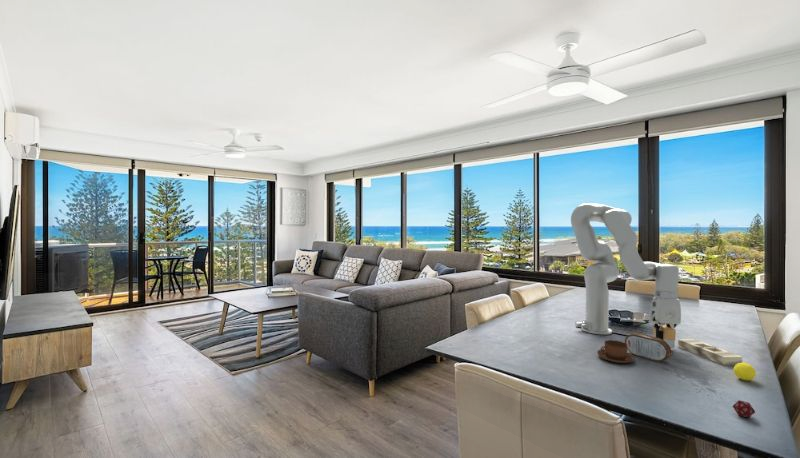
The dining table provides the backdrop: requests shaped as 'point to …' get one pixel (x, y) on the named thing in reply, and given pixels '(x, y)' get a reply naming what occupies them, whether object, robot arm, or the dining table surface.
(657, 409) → the dining table surface
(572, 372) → the dining table surface
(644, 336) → the tin
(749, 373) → the lemon
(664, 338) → the light orange block
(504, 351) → the dining table surface
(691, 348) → the rail
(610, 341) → the cup and saucer
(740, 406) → the dice
